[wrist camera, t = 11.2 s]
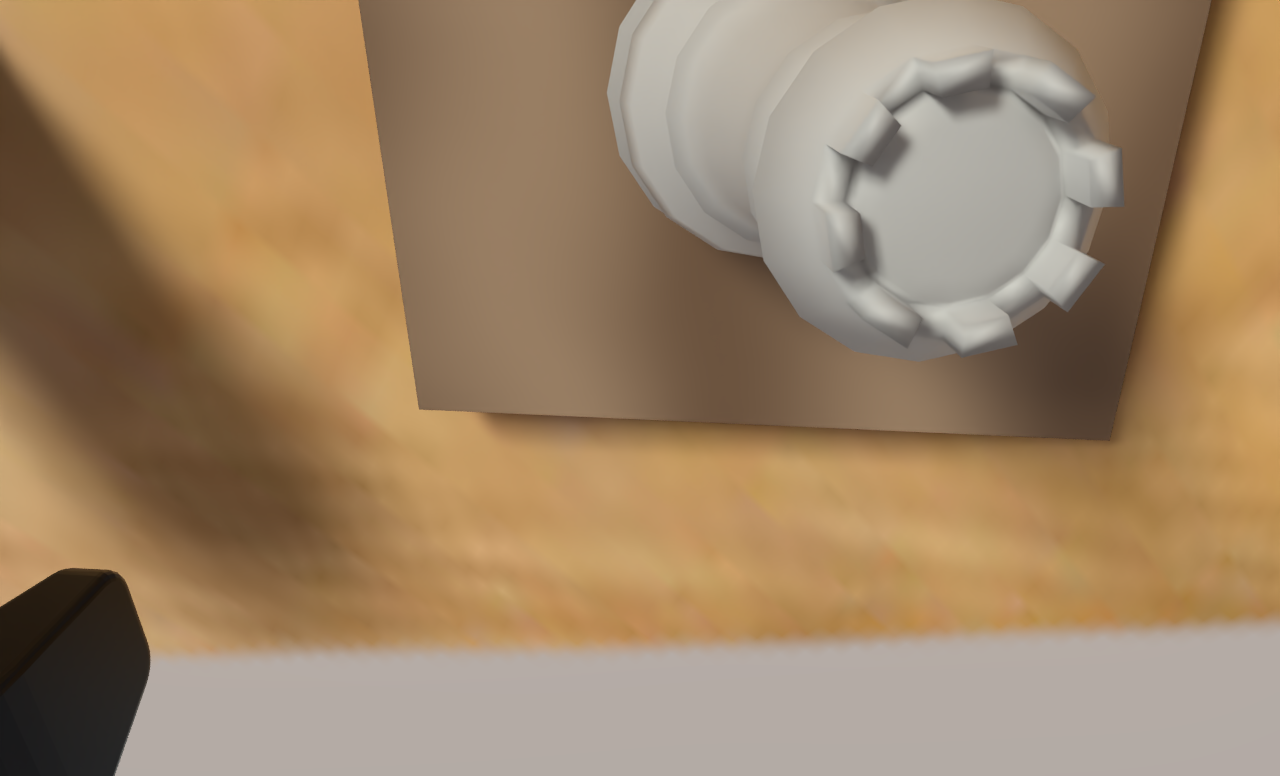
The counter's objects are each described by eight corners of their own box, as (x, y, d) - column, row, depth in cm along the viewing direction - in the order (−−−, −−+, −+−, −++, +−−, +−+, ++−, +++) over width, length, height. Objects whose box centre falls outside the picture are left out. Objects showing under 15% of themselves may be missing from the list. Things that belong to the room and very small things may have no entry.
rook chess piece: (901, 236, 18) (1191, 450, 11) (604, 244, 18) (698, 476, 10) (927, -84, 17) (1286, -84, 9) (601, -85, 16) (712, -88, 9)
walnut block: (1241, -405, 16) (1304, -402, 14) (1082, 361, 23) (1109, 440, 21) (361, -384, 18) (302, -377, 15) (452, 337, 24) (419, 409, 22)
